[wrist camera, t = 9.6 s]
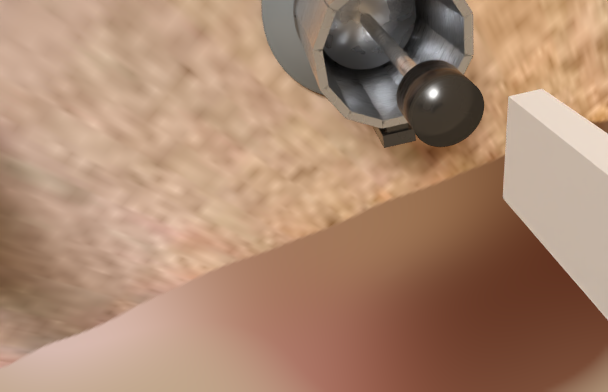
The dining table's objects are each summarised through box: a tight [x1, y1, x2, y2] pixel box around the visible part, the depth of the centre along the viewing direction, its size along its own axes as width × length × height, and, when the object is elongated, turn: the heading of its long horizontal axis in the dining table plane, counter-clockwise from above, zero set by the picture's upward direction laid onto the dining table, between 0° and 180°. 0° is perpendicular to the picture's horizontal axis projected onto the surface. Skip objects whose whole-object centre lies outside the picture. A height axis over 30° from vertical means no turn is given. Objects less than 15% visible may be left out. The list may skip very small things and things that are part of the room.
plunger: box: [323, 0, 484, 147], centre depth 33 cm, size 8×8×19 cm
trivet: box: [261, 0, 324, 95], centre depth 43 cm, size 16×16×1 cm
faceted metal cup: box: [293, 0, 473, 148], centre depth 38 cm, size 11×13×12 cm
